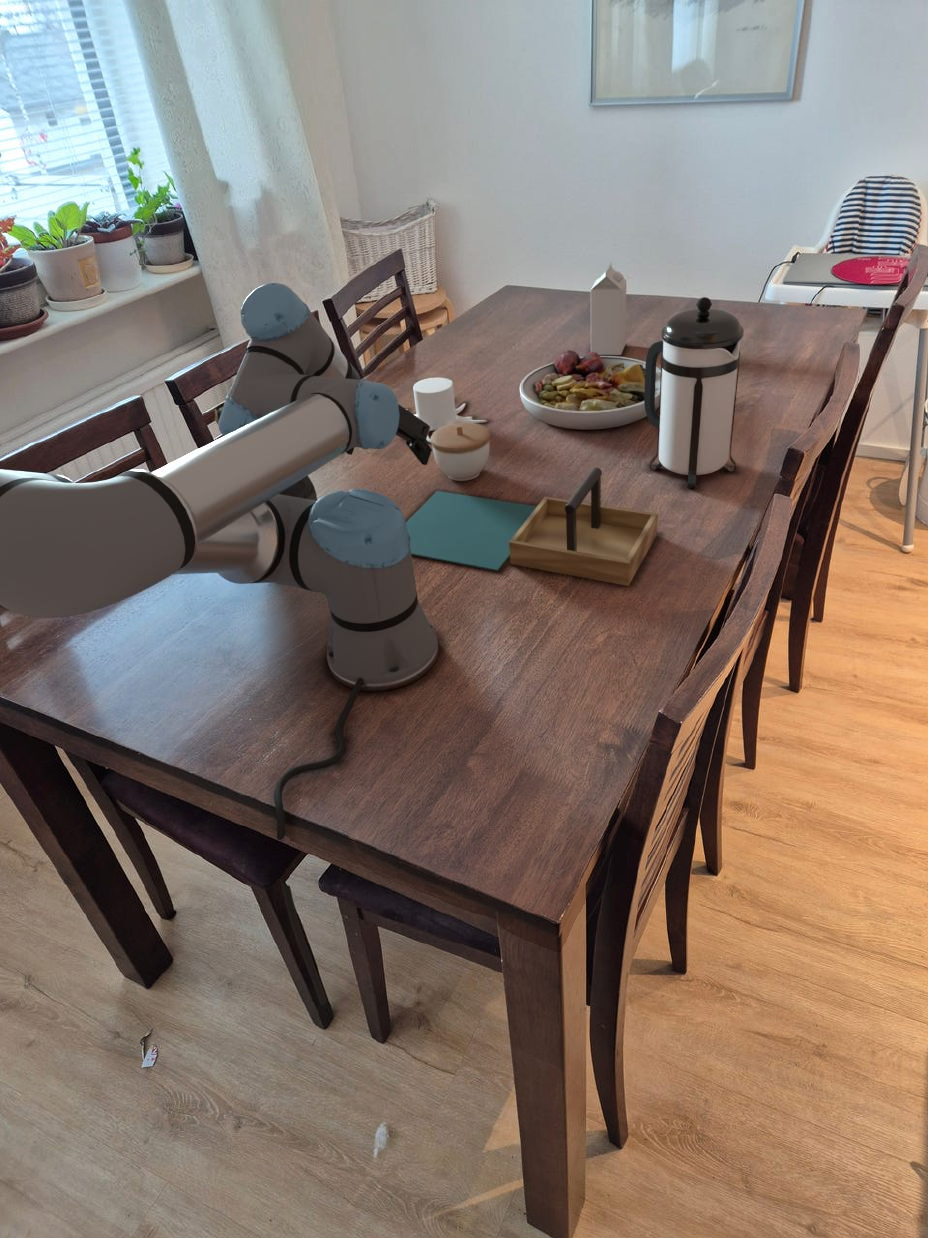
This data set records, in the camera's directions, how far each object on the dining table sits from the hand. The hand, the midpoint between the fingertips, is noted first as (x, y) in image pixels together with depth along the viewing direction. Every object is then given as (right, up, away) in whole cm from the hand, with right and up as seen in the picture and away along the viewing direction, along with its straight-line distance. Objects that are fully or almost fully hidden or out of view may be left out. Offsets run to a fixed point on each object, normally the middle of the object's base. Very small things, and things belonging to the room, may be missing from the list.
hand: (389, 452), depth 135 cm
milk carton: (+46, +37, +69) cm, 91 cm away
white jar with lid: (+12, +1, +25) cm, 28 cm away
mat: (+12, -11, +9) cm, 19 cm away
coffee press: (+51, +1, +19) cm, 55 cm away
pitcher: (-17, -15, +8) cm, 25 cm away
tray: (+31, -15, +1) cm, 34 cm away
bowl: (+39, +18, +44) cm, 62 cm away
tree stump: (+6, +15, +45) cm, 48 cm away
